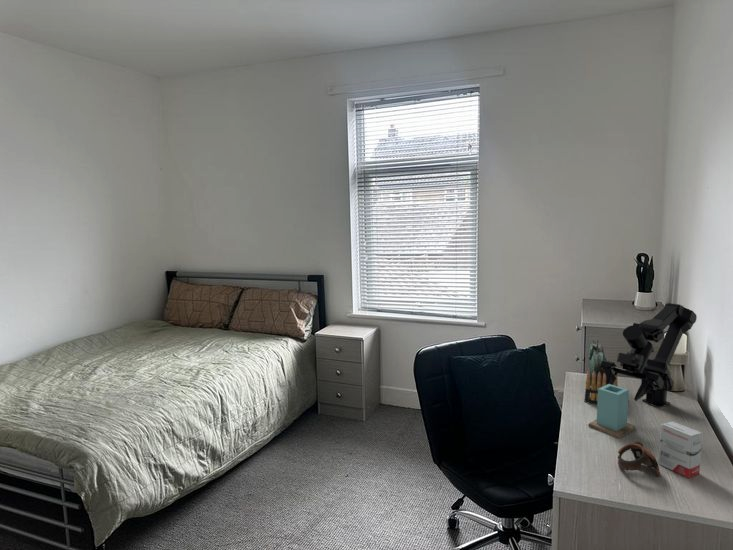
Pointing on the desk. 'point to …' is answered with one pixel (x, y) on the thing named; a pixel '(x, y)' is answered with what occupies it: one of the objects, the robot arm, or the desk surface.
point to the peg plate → (610, 431)
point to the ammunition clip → (595, 386)
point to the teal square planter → (612, 407)
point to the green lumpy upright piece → (596, 359)
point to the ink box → (680, 449)
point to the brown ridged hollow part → (637, 458)
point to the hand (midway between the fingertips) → (620, 395)
